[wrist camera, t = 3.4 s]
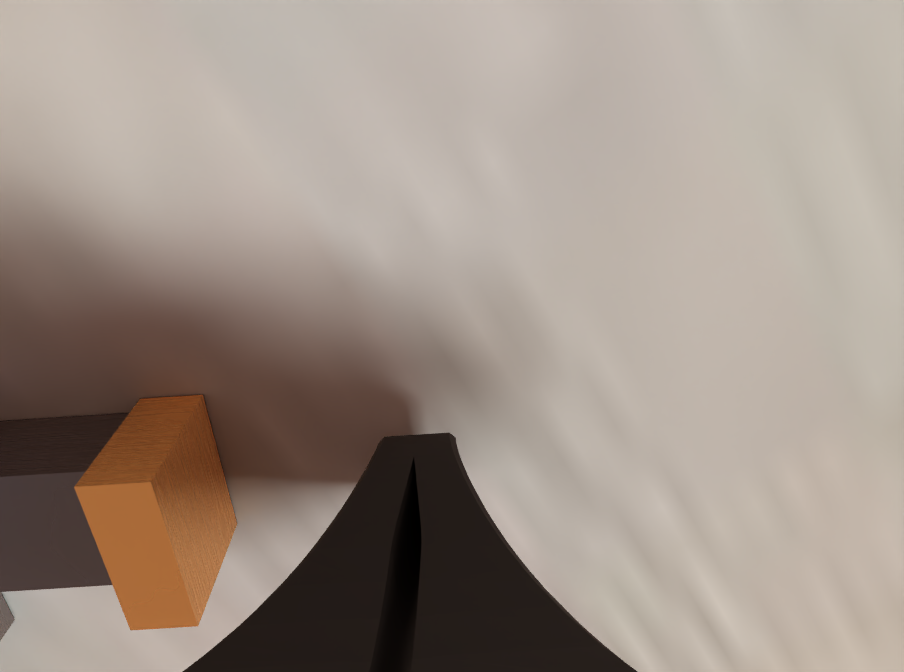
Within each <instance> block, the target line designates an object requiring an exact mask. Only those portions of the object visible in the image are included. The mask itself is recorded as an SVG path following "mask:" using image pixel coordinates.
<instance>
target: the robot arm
mask: <svg viewBox="0 0 904 672" xmlns="http://www.w3.org/2000/svg"><path fill="white" fill-rule="evenodd" d="M183 672H637V671H636V670H634V669H633V668H632V667H630V666H629V665H628V664H626V663H625V662H624V661H623V660H621V659H620V658H619V657H618V656H616V655H615V654H614V653H613V652H611V651H610V650H609V649H608V648H607V647H605V646H604V645H603V644H602V643H601V642H600V641H599V640H597V639H596V638H595V637H594V636H593V635H592V634H591V633H589V632H588V631H587V630H586V629H585V628H584V627H583V626H582V625H580V624H579V623H578V622H577V621H576V620H575V619H574V618H573V617H572V616H571V615H570V614H569V613H568V612H567V611H566V610H565V609H564V608H563V606H562V605H561V604H560V603H559V602H558V601H557V600H556V599H555V598H554V597H553V596H552V595H551V594H550V593H549V592H548V591H547V590H546V589H545V588H544V587H543V586H542V585H541V584H540V582H539V581H538V580H537V579H536V578H535V577H534V575H533V574H532V573H531V572H530V571H529V570H528V568H527V567H526V566H525V565H524V563H523V562H522V561H521V560H520V558H519V557H518V556H517V555H516V553H515V552H514V551H513V549H512V548H511V547H510V545H509V544H508V542H507V541H506V540H505V538H504V537H503V535H502V534H501V532H500V531H499V529H498V528H497V526H496V525H495V523H494V522H493V520H492V519H491V517H490V515H489V514H488V512H487V510H486V509H485V507H484V505H483V504H482V502H481V500H480V498H479V496H478V494H477V493H476V491H475V489H474V487H473V485H472V483H471V481H470V479H469V477H468V475H467V473H466V470H465V468H464V466H463V463H462V461H461V458H460V455H459V452H458V449H457V445H456V438H455V437H454V436H453V435H452V434H450V433H438V434H422V435H406V436H391V437H384V438H383V439H382V440H381V441H380V442H379V444H378V446H377V448H376V450H375V452H374V454H373V456H372V458H371V460H370V462H369V464H368V466H367V468H366V470H365V471H364V473H363V475H362V476H361V478H360V480H359V482H358V483H357V485H356V487H355V488H354V490H353V491H352V493H351V494H350V496H349V498H348V499H347V501H346V502H345V504H344V505H343V507H342V509H341V510H340V512H339V513H338V514H337V516H336V517H335V519H334V520H333V521H332V523H331V524H330V525H329V527H328V528H327V530H326V531H325V532H324V534H323V535H322V536H321V538H320V539H319V540H318V542H317V543H316V544H315V546H314V547H313V548H312V549H311V551H310V552H309V553H308V554H307V556H306V557H305V558H304V559H303V560H302V562H301V563H300V564H299V565H298V566H297V567H296V569H295V570H294V571H293V572H292V573H291V574H290V575H289V576H288V578H287V579H286V580H285V581H284V582H283V583H282V584H281V585H280V586H279V587H278V588H277V589H276V590H275V591H274V592H273V593H272V594H271V595H270V596H269V597H268V598H267V599H266V601H265V602H264V603H263V604H262V605H261V606H260V607H259V608H258V609H257V610H256V611H255V612H253V613H252V614H251V615H250V616H249V617H248V618H247V619H246V620H245V621H244V622H243V623H242V624H241V625H240V626H238V627H237V628H236V629H235V630H234V631H233V632H231V633H230V634H229V635H228V636H227V637H226V638H224V639H223V640H222V641H221V642H220V643H218V644H217V645H216V646H215V647H214V648H213V649H211V650H210V651H209V652H208V653H206V654H205V655H204V656H203V657H201V658H200V659H199V660H198V661H196V662H195V663H194V664H192V665H191V666H190V667H188V668H187V669H186V670H184V671H183Z"/></svg>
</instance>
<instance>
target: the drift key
mask: <svg viewBox="0 0 904 672" xmlns="http://www.w3.org/2000/svg"><path fill="white" fill-rule="evenodd" d="M236 525H237V521H236V518H235V514H234V510H233V506H232V503H231V499H230V495H229V491H228V488H227V484H226V480H225V476H224V473H223V469H222V465H221V461H220V458H219V454H218V450H217V446H216V443H215V439H214V435H213V431H212V427H211V424H210V420H209V416H208V412H207V409H206V405H205V401H204V397H203V395H191V396H176V397H160V398H145V399H140V400H139V401H138V402H137V404H136V405H135V406H134V408H133V409H132V410H131V412H130V413H122V414H106V415H91V416H75V417H60V418H44V419H28V420H13V421H0V592H6V591H22V590H38V589H54V588H70V587H86V586H102V585H113V587H114V589H115V592H116V595H117V597H118V600H119V602H120V605H121V607H122V610H123V612H124V615H125V617H126V620H127V622H128V625H129V627H130V630H143V629H159V628H175V627H191V626H198V625H199V622H200V620H201V617H202V614H203V612H204V609H205V607H206V604H207V601H208V599H209V596H210V593H211V591H212V588H213V586H214V583H215V580H216V578H217V575H218V573H219V570H220V567H221V565H222V562H223V559H224V557H225V554H226V552H227V549H228V546H229V544H230V541H231V538H232V536H233V533H234V531H235V528H236Z"/></svg>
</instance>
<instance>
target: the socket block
mask: <svg viewBox="0 0 904 672" xmlns="http://www.w3.org/2000/svg"><path fill="white" fill-rule="evenodd" d="M13 621H14V618H13V616H12V614H11V612H10V610H9V608H8V606H7V604H6V602H5V600H4V598H3V596H2V594H1V592H0V640H1V639H2V637H3V636H4V635H5V633H6V632H7V630H8V629H9V627H10V626H11V624H12V623H13Z"/></svg>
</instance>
